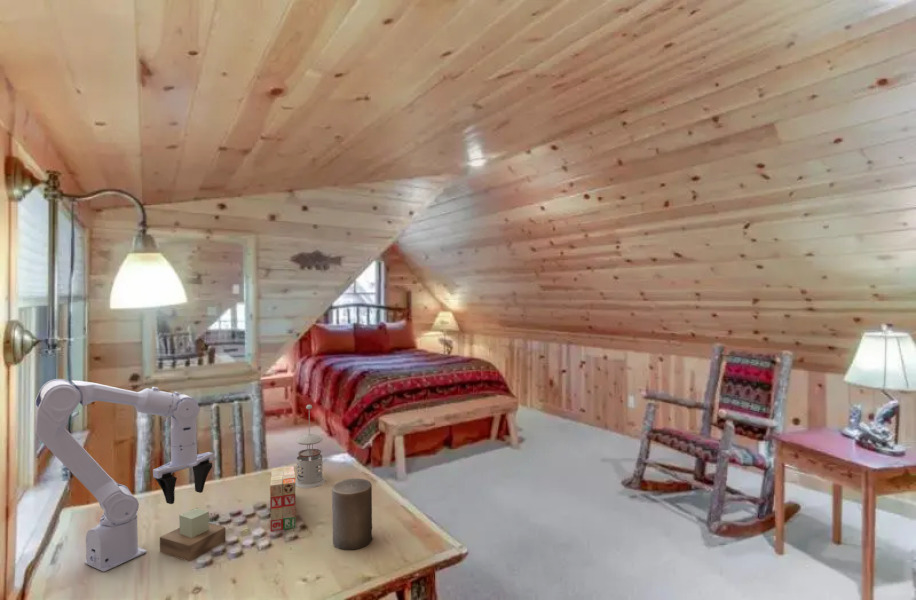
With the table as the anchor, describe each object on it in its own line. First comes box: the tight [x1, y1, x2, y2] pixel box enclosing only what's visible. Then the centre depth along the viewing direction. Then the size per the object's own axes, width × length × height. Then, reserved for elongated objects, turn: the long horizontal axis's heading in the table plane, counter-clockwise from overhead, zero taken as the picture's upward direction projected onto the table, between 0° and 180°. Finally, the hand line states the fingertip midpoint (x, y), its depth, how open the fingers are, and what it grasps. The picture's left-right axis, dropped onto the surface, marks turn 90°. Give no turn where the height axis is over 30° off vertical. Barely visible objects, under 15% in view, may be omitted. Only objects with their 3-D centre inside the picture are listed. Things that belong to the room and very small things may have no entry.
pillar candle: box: [331, 478, 374, 551], centre depth 126 cm, size 10×10×15 cm
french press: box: [295, 404, 326, 489], centre depth 164 cm, size 10×12×25 cm
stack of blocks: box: [269, 465, 297, 532], centre depth 141 cm, size 21×6×12 cm, turn 19°
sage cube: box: [179, 507, 210, 538], centre depth 123 cm, size 4×4×4 cm
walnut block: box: [159, 522, 227, 562], centre depth 123 cm, size 10×10×4 cm
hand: (185, 497), depth 128 cm, fingers open, 7 cm apart
